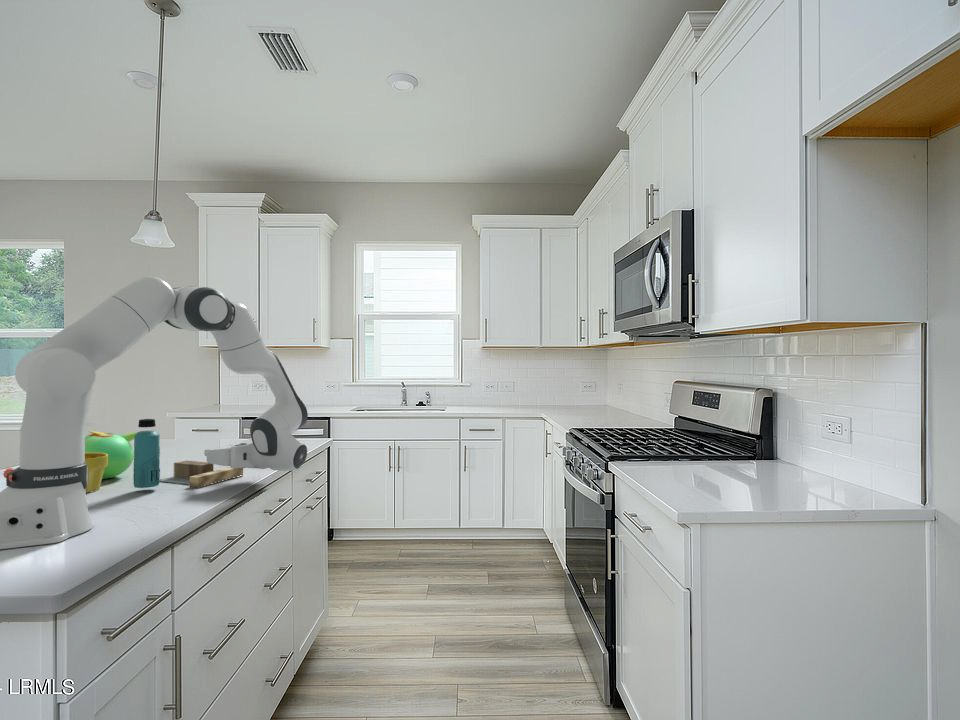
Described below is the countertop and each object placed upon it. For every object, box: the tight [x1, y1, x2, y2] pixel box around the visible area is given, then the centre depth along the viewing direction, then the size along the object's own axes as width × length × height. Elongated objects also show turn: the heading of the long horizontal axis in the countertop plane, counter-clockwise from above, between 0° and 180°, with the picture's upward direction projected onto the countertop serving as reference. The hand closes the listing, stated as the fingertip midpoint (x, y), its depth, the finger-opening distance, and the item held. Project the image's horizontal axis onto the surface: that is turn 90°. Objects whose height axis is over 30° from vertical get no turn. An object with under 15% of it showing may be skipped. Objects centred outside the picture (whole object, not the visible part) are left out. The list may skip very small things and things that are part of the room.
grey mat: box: [159, 476, 190, 486], centre depth 174 cm, size 14×14×1 cm
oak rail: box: [188, 466, 244, 489], centre depth 171 cm, size 18×3×3 cm, turn 161°
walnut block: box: [172, 459, 215, 479], centre depth 174 cm, size 4×4×11 cm
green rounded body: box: [85, 430, 139, 480], centre depth 172 cm, size 18×17×15 cm
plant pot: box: [85, 453, 108, 493], centre depth 156 cm, size 10×10×10 cm
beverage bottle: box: [132, 418, 161, 489], centre depth 157 cm, size 6×7×20 cm
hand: (218, 449), depth 171 cm, fingers open, 8 cm apart
